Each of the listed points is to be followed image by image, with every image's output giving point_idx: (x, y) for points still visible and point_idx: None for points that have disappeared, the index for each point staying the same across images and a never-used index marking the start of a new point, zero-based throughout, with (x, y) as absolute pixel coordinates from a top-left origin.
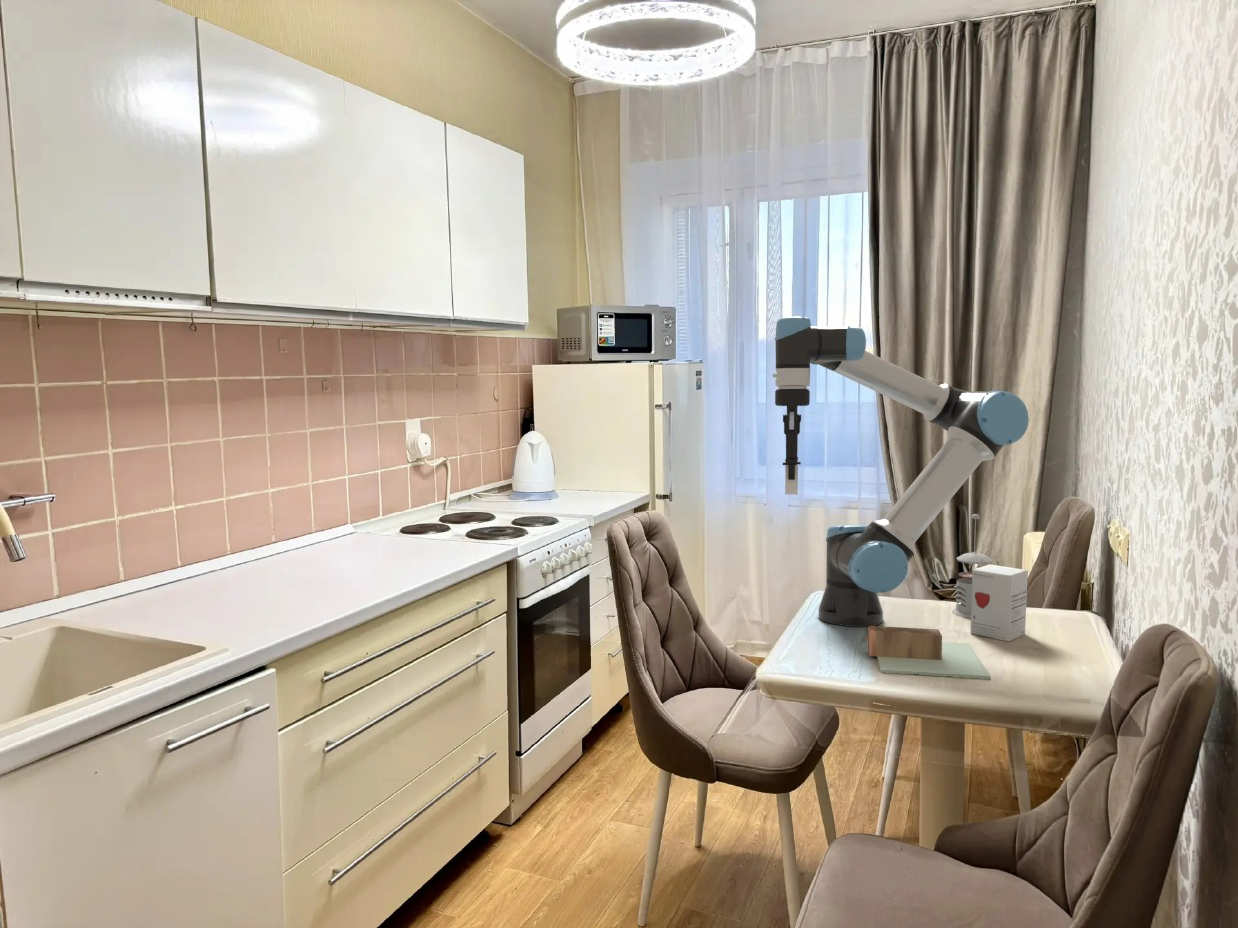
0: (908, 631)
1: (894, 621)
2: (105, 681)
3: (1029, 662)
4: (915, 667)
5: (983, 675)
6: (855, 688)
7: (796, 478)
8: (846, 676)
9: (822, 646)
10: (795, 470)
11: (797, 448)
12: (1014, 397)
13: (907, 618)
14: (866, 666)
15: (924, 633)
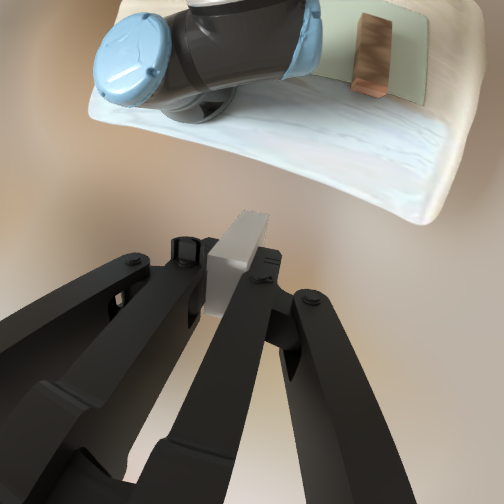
0: (378, 47)
1: None
2: None
3: None
4: (413, 67)
5: (426, 21)
6: (461, 151)
7: (258, 240)
8: (433, 146)
9: (330, 139)
10: (251, 261)
11: (82, 285)
12: None
13: None
14: (404, 112)
15: (385, 34)
